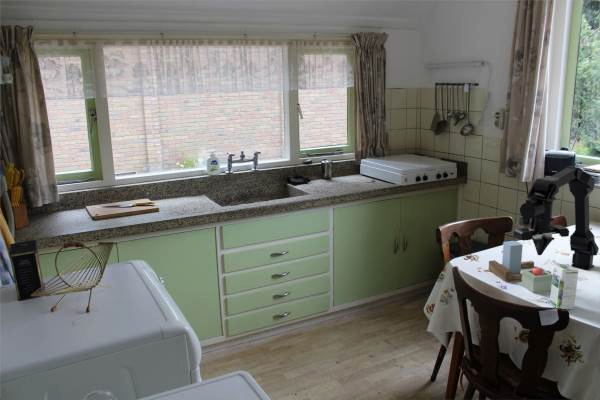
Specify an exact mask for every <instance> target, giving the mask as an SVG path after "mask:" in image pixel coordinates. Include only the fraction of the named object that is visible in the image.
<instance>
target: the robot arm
mask: <svg viewBox="0 0 600 400" xmlns="http://www.w3.org/2000/svg"><path fill="white" fill-rule="evenodd" d="M566 184H568V189H569V191H570V193H571V195H572V196H573V198H574V222H575V223H574V227H575V228H574V229H575V230H574V231H573V233H572V234H571V235H570V229H569V228H568V227H566V226H563V225H561V224H555V225H554V224H553V225H552V222H554V220H555V218H554V217H552V215H553V204H554V201H556V200H557V199H556V195H557V194H558V193H559V192H560V190H559V189H560V188H562V187H563V186H565V185H566ZM595 185H596V180H595V178H594V177H593V176H592V175H591V174H589V173H587V172H586V171H584V170H583V169H582V168H581V167H579V166H573V165H572V166H571V165H570V166H569V165H568V166H566V167H565V168H564V169H562V170H560V171H559V172H557V173H554V174H553V175H551V176H544V177H543V176H542V177H539V178H538V177H537V178H536V180H534V182H533V183H532V185H531V188H530V190H529V191H528V194H527V196H526V197H527V198H526V199H525V203H522V205H521V206H520V208H519V213H520V215H521V216H520V217H519V220H518V223H519V226H520V227H521V226H523V227H522V228H520V227H519V228H515V230H513V237H515V238H517V239H519V240H520V241H531V240H532V242H533V244H534V248H535V251H536V255H538V256H542V255H543V253H544V252H545V250H546V249H547V247H548V246H549V245H550V244H551V242H552V241H554V240H555V239H556V238H555V237H553V235H555V234H559V236H560V237H562V238H564V237H565V238H566V237H569V240H570V241H569V246H570V251H571V252H573V253H572V257H571V265H570V266H572V267H574V268H576V269H581V270H585V271H589V270H591V269H592V268H594V267H595V265H594V264H593V263H594V256H597V255H598V253H599V246H598V244H597V243H596V239H595V235H594V233H593V232H592V231H591V229H590V195H591V193H592V192H593V191H594V187H595ZM529 229H530V230H529Z"/></svg>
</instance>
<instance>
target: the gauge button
mask: <svg viewBox="0 0 600 400" xmlns="http://www.w3.org/2000/svg"><path fill="white" fill-rule="evenodd" d="M532 269H533V273H532V274H534V275H535V276H540V275H543V271H544V270H545V269H544V268H541V267H532ZM543 269H544V270H543Z"/></svg>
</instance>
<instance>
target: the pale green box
mask: <svg viewBox="0 0 600 400" xmlns="http://www.w3.org/2000/svg"><path fill="white" fill-rule="evenodd" d="M542 269H543V270H544V271H543V275H540V276H535V275H534V274H532V273H533V268H531V269H523V270H522V271H521V273H522V280H521V282H520V283H521V286H522V287H524V288H525V289H526V290H528V291H529V292H531V293H532V294H533V293H542V292H551V286H552V276H553V273H552V272H551V273H549V272H547V271H548V270H546V269H544V268H542Z"/></svg>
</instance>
